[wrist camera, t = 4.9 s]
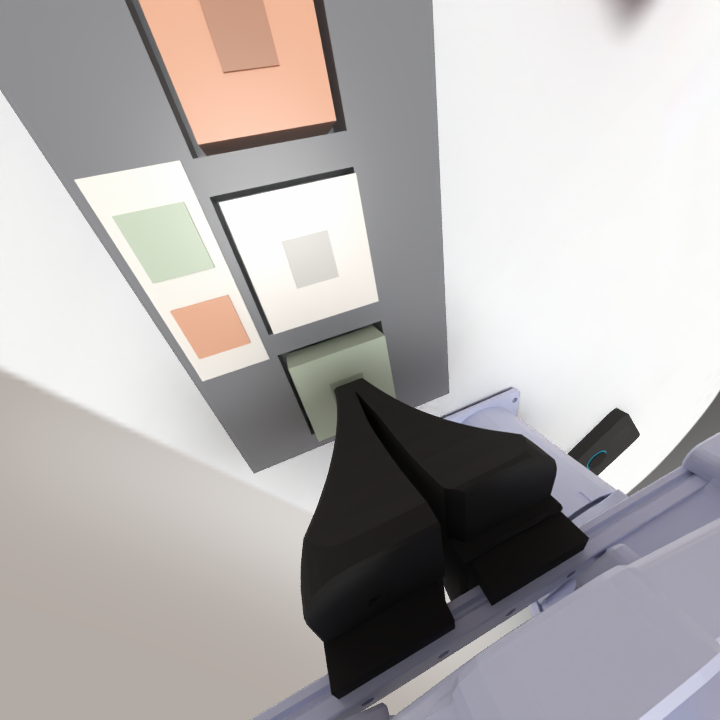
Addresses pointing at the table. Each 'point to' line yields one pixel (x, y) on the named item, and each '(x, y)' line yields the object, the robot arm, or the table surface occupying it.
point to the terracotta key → (244, 69)
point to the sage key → (338, 373)
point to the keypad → (243, 195)
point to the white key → (305, 250)
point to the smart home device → (605, 441)
